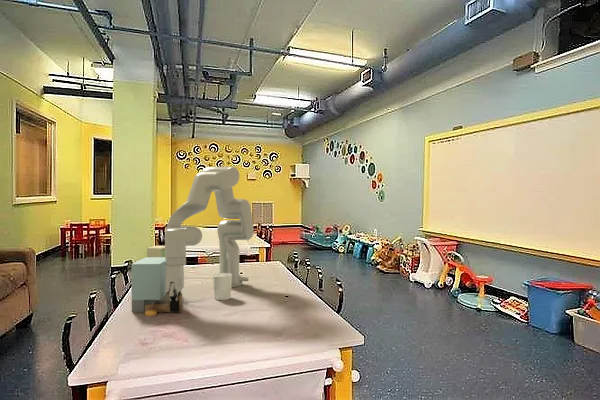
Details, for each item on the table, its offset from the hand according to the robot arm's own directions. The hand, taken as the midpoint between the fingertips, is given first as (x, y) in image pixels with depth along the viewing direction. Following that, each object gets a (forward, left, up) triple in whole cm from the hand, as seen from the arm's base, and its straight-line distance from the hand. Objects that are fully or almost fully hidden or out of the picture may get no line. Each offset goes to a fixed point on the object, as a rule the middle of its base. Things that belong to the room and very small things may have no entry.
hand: (175, 309), depth 150 cm
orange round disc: (+8, +3, -1) cm, 9 cm away
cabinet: (+11, -9, -1) cm, 14 cm away
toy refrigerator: (+14, -28, -1) cm, 31 cm away
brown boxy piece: (+5, 0, -1) cm, 5 cm away
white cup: (-15, -19, -1) cm, 24 cm away
